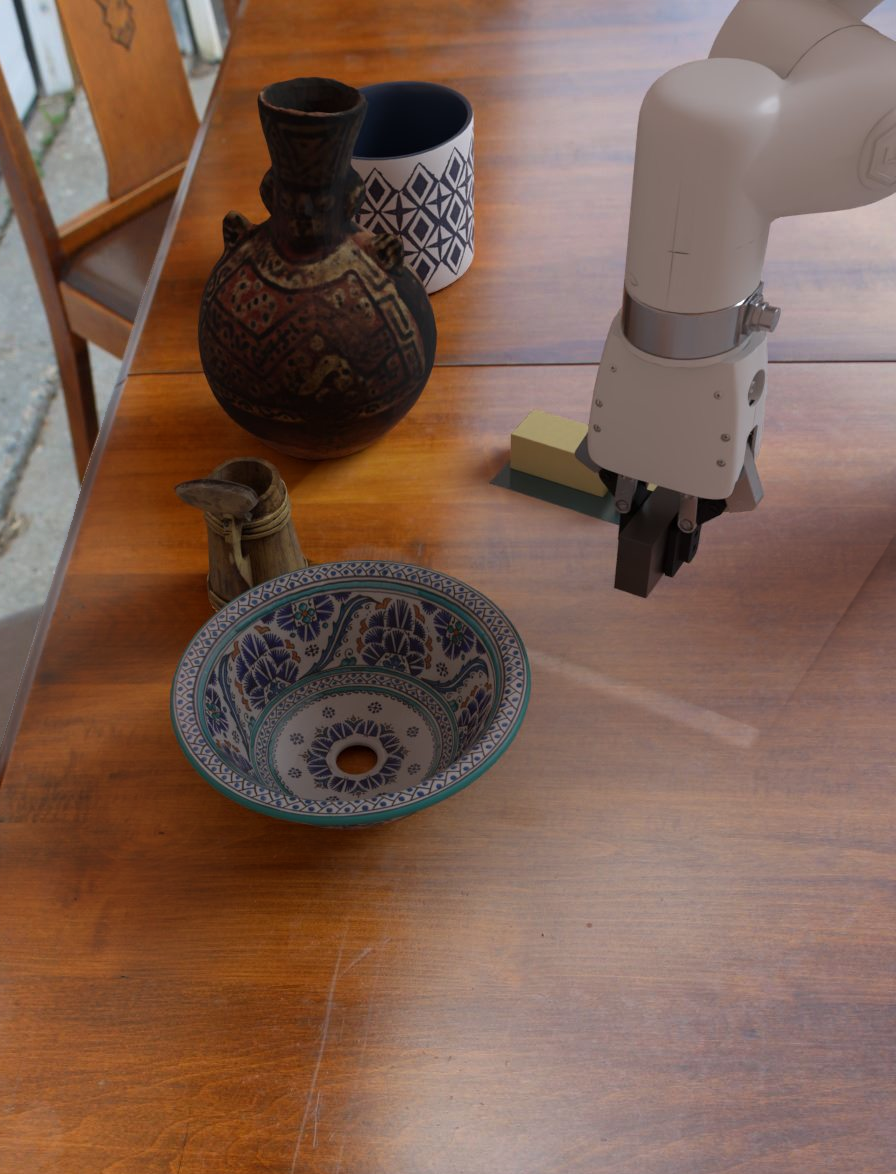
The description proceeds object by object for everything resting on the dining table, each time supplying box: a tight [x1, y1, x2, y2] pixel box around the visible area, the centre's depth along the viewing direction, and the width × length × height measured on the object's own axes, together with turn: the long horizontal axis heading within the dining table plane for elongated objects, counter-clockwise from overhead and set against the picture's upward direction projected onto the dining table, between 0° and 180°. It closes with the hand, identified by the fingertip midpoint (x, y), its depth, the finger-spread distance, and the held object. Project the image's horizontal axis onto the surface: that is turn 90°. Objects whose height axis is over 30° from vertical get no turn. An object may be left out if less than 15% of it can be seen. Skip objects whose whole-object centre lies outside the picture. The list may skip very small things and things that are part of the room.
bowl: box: [169, 559, 532, 830], centre depth 95 cm, size 25×25×10 cm
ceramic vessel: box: [197, 76, 438, 461], centre depth 111 cm, size 21×18×30 cm
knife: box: [613, 486, 680, 600], centre depth 92 cm, size 18×2×4 cm, turn 146°
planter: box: [351, 80, 475, 295], centre depth 134 cm, size 16×16×14 cm
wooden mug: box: [173, 456, 309, 611], centre depth 104 cm, size 9×14×18 cm, turn 169°
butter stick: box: [509, 408, 609, 497], centre depth 114 cm, size 9×4×4 cm, turn 55°
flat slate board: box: [489, 459, 620, 526], centre depth 114 cm, size 17×9×1 cm, turn 55°
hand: (656, 556), depth 92 cm, fingers closed on knife, 2 cm apart
